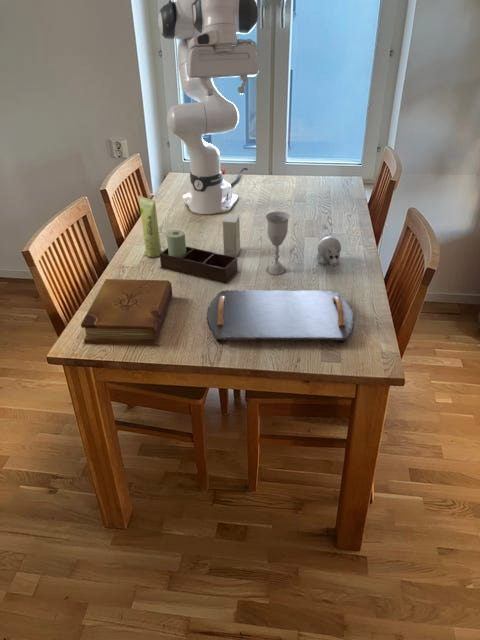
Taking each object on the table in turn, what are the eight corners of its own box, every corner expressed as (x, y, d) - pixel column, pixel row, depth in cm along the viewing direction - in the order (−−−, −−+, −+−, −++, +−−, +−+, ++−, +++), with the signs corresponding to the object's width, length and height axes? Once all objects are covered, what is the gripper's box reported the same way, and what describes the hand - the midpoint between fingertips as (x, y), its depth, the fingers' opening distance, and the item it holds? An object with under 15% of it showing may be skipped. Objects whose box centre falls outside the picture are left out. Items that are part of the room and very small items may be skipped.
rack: (174, 257, 171) (173, 243, 168) (237, 271, 162) (237, 257, 160) (161, 268, 165) (159, 253, 162) (225, 283, 156) (225, 269, 154)
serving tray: (203, 347, 131) (202, 327, 127) (210, 298, 150) (209, 279, 146) (359, 348, 130) (362, 327, 126) (345, 298, 149) (348, 279, 145)
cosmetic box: (236, 257, 170) (236, 222, 163) (223, 256, 171) (222, 221, 164) (240, 248, 175) (240, 214, 169) (227, 247, 176) (226, 213, 169)
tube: (143, 258, 171) (136, 201, 160) (145, 250, 175) (138, 195, 164) (161, 257, 171) (154, 200, 160) (162, 250, 175) (156, 194, 164)
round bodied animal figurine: (321, 275, 160) (323, 250, 155) (314, 257, 170) (316, 233, 165) (344, 274, 160) (347, 249, 156) (336, 256, 170) (339, 232, 165)
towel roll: (175, 259, 170) (172, 228, 163) (190, 263, 167) (188, 231, 161) (166, 267, 165) (163, 235, 159) (181, 270, 163) (178, 238, 157)
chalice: (276, 262, 167) (277, 209, 157) (292, 269, 163) (294, 215, 153) (260, 270, 163) (260, 216, 153) (276, 278, 159) (278, 223, 149)
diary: (157, 345, 132) (155, 326, 128) (84, 343, 133) (80, 324, 129) (172, 297, 151) (171, 279, 147) (108, 295, 152) (105, 278, 148)
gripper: (252, 41, 148) (256, 94, 152) (182, 43, 142) (188, 98, 146) (260, 36, 142) (264, 91, 146) (187, 38, 136) (193, 95, 140)
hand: (225, 94), depth 146 cm, fingers open, 8 cm apart
